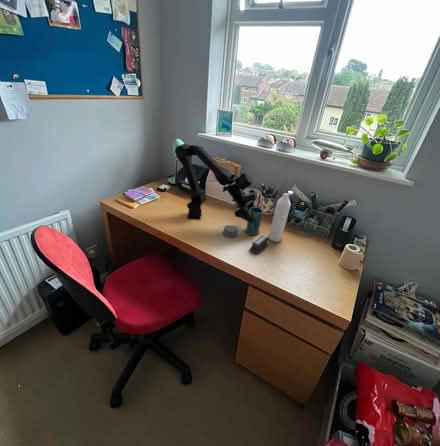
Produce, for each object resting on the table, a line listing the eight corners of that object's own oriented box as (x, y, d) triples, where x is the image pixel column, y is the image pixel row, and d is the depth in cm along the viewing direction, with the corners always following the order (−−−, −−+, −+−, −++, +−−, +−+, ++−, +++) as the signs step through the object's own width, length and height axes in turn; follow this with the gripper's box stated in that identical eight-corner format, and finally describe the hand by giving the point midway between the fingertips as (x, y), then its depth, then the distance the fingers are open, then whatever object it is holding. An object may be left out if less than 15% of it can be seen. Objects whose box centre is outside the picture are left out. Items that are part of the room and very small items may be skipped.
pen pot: (246, 234, 126) (250, 212, 120) (245, 227, 132) (249, 206, 125) (258, 235, 127) (263, 213, 120) (257, 229, 132) (262, 207, 126)
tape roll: (223, 236, 123) (224, 231, 121) (223, 229, 128) (224, 224, 126) (236, 238, 123) (237, 232, 121) (236, 231, 128) (237, 225, 127)
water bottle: (276, 243, 122) (289, 197, 109) (265, 238, 125) (276, 192, 113) (285, 237, 128) (298, 193, 115) (274, 232, 131) (286, 189, 118)
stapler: (256, 254, 113) (258, 246, 110) (249, 250, 114) (251, 243, 112) (267, 245, 120) (269, 237, 118) (260, 242, 122) (262, 234, 120)
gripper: (244, 192, 110) (263, 219, 113) (253, 180, 126) (270, 204, 129) (226, 203, 116) (244, 229, 119) (237, 191, 132) (253, 214, 135)
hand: (254, 218), depth 125 cm, fingers open, 9 cm apart
